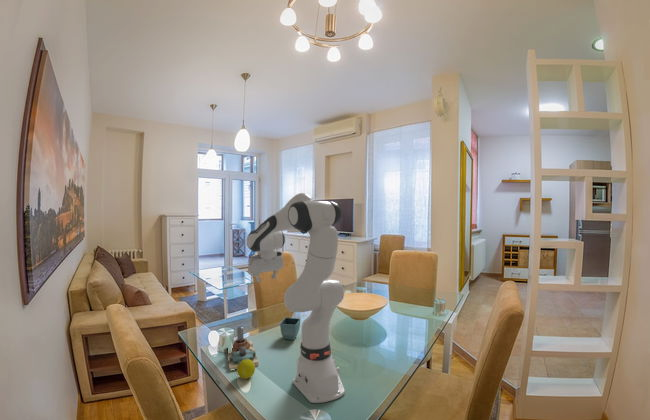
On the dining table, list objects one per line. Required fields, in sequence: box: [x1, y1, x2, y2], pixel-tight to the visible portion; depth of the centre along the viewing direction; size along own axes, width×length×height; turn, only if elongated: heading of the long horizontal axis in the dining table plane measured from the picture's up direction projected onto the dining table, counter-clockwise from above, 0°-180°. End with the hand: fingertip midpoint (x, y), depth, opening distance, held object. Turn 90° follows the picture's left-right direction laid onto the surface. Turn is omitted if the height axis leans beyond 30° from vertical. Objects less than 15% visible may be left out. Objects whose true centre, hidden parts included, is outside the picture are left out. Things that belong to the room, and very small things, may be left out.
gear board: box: [227, 337, 259, 370], centre depth 135 cm, size 22×12×6 cm, turn 22°
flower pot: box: [279, 317, 301, 341], centre depth 154 cm, size 9×9×9 cm
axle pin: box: [236, 326, 244, 343], centre depth 140 cm, size 3×3×10 cm
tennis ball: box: [236, 359, 256, 380], centre depth 119 cm, size 7×7×7 cm
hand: (266, 280), depth 152 cm, fingers open, 8 cm apart
